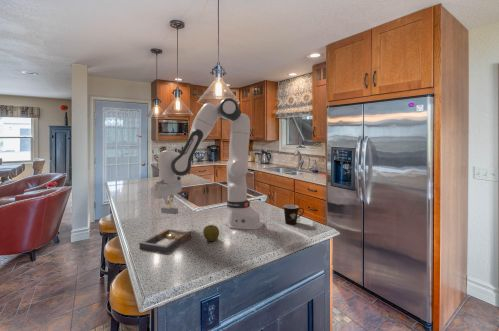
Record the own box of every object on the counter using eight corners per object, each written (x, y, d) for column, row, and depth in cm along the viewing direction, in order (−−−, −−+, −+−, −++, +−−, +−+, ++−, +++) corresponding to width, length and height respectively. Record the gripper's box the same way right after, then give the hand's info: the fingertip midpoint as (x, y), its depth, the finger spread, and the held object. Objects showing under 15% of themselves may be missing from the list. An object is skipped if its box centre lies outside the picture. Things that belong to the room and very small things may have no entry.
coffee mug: (282, 225, 152) (282, 208, 151) (284, 220, 160) (284, 204, 159) (303, 226, 149) (303, 209, 148) (303, 221, 157) (304, 205, 156)
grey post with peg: (178, 213, 147) (177, 197, 146) (176, 214, 146) (175, 198, 145) (163, 212, 151) (162, 196, 150) (161, 213, 149) (160, 197, 148)
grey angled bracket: (180, 244, 125) (180, 239, 124) (166, 253, 115) (166, 247, 115) (154, 240, 130) (154, 235, 130) (139, 248, 121) (139, 242, 120)
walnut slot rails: (191, 237, 134) (191, 232, 133) (180, 244, 125) (180, 238, 125) (167, 233, 139) (166, 229, 138) (155, 239, 130) (155, 234, 130)
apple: (211, 236, 135) (211, 222, 134) (222, 240, 130) (222, 226, 129) (200, 240, 129) (199, 226, 128) (211, 244, 124) (210, 230, 123)
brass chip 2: (185, 237, 133) (184, 234, 133) (179, 241, 129) (179, 238, 129) (177, 236, 135) (177, 233, 135) (172, 240, 131) (172, 236, 131)
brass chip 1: (177, 236, 135) (177, 233, 135) (171, 239, 131) (171, 236, 131) (169, 235, 137) (169, 232, 136) (164, 238, 132) (164, 235, 132)
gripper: (159, 182, 135) (161, 208, 137) (182, 176, 154) (184, 199, 156) (149, 182, 138) (151, 207, 139) (174, 176, 157) (175, 198, 158)
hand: (169, 203), depth 148 cm, fingers closed on grey post with peg, 2 cm apart
